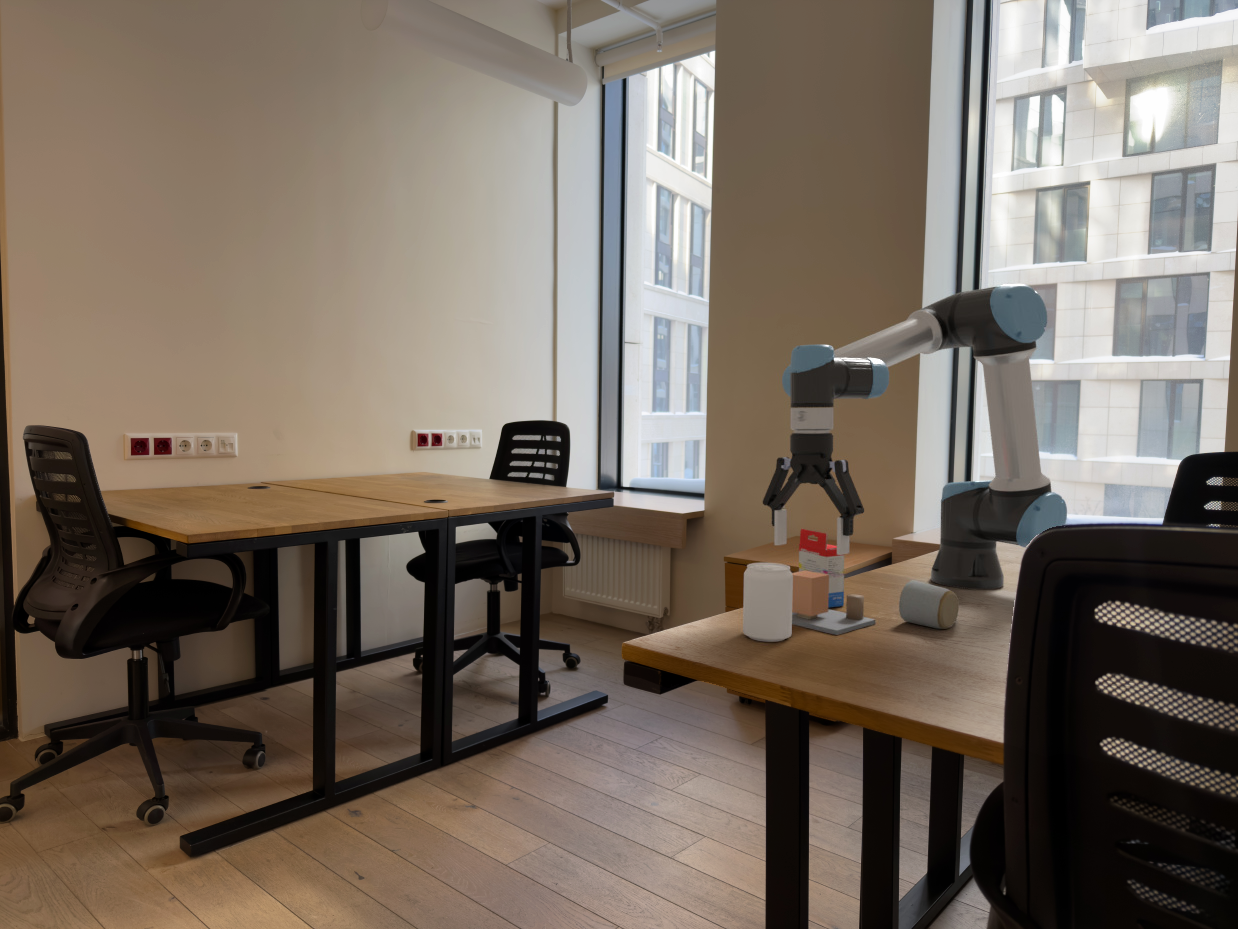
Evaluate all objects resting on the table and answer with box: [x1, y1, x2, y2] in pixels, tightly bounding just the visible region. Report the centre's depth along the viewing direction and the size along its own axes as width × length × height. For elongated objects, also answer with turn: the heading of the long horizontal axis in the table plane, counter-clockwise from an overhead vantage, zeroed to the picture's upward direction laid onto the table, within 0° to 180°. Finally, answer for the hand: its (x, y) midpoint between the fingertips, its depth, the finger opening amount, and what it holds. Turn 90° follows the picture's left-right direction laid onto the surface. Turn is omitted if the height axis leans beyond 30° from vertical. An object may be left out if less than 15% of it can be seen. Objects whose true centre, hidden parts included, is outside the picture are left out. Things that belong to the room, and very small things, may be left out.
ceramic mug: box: [898, 579, 960, 630], centre depth 147 cm, size 11×8×8 cm
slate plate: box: [792, 593, 876, 636], centre depth 148 cm, size 12×14×5 cm
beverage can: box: [742, 562, 793, 643], centre depth 137 cm, size 8×8×12 cm
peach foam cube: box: [791, 571, 829, 616], centre depth 148 cm, size 5×5×7 cm
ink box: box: [798, 528, 845, 609], centre depth 162 cm, size 8×5×15 cm, turn 27°
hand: (810, 549), depth 148 cm, fingers open, 13 cm apart
